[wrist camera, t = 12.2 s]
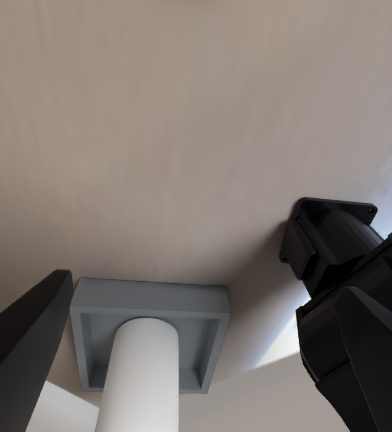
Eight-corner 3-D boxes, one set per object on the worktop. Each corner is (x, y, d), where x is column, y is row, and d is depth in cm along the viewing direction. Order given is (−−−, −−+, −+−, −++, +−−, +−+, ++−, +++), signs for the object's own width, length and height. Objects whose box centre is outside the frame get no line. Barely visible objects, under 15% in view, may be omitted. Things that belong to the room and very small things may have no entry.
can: (191, 335, 31) (197, 486, 21) (146, 360, 33) (131, 508, 22) (148, 305, 28) (131, 462, 18) (102, 333, 30) (62, 490, 20)
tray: (226, 286, 28) (231, 313, 25) (204, 365, 35) (207, 393, 33) (80, 277, 26) (69, 305, 24) (89, 362, 34) (81, 391, 31)
